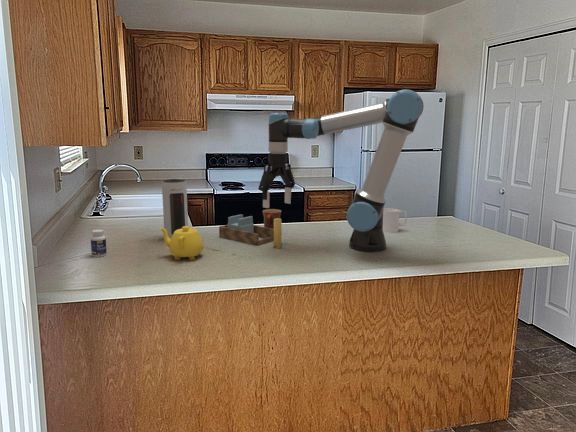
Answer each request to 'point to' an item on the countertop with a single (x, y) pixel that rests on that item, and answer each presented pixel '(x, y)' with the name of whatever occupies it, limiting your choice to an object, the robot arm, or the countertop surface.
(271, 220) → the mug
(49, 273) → the countertop surface
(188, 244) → the teapot
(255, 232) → the bay
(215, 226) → the countertop surface
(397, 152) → the robot arm
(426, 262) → the countertop surface
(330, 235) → the countertop surface
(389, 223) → the cup
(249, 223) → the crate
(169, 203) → the speaker
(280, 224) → the peg
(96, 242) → the pill bottle
